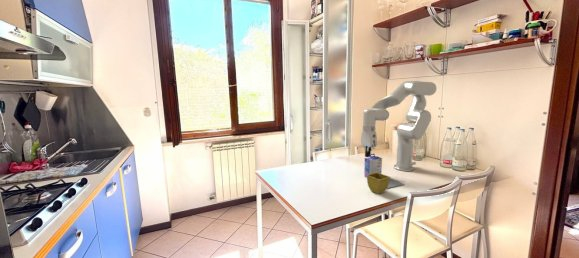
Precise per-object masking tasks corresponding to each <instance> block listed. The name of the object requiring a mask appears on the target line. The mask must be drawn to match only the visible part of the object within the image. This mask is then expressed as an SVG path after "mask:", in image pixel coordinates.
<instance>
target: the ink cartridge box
mask: <svg viewBox="0 0 579 258" xmlns="http://www.w3.org/2000/svg"><path fill="white" fill-rule="evenodd" d="M382 162H383V158H382V157H380V156H376V154H375V153H371V154H370V157H365V158H364V171H363V172H364V174H363V175H364V177H365V178H367V175H369V174H372V173H380V174H382V171H383V170H382V165H383V163H382Z"/></svg>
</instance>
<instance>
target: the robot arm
mask: <svg viewBox="0 0 579 258" xmlns="http://www.w3.org/2000/svg"><path fill="white" fill-rule="evenodd" d="M436 92H437V85H436V84H435V83H434V82H432V81H421V80H420V81H419V80H409V81H408V80H406V81H402V82H401V84H400V85H398V86H397V87H396V88H395V89H394V90H393V91H392V92H391V93H390V94H389V95H388V96H385V97H384V98H383V97H382V99H380V100H378V101H377V102H375V103H374V104H373V105H372V106H371V107H370V108H367V109H363V112H362V113H363V116H362V131H361V139H360V144H361V146H362V147H363V149H364V157H365V158H369V157H370V154H372V153H371V152H372V151H373V150H376V149H375V148H376V147H377V145H378V143H377V142H378V140H377V139H378V138H377V131H376V122H377V121H381V122H383V121H386V120H388V119H389V117H390V112H389V111H388V108H391V107H396V106H398V105H400V104H401V103H402V102H404V100H406V98H407V97H408V96H410V95H412V103H411V105H410V106H409V109H408V110H407V113H406V114H405V115H406V116H405V120H406V121H407V122H402V123H400V124H399V125H397V128H396V135H397V149H396V163H395V164H394V165H393V168H394V169H395V170H397V171H402V172H411V171H414V169H415V168H414V165H417V162H416V161H413V149H414V143H413V140H415V141H417V140H421V139H422V138H423V137H424V135H425V133H426V131H427V129H428V127H429V125H430V123H431V121H432V115H431V112H430V111H429V110H427V109H425V108H426V106H427V99H426V96H428V97H429V96H432V95H434V94H435V93H436Z"/></svg>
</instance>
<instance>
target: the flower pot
mask: <svg viewBox="0 0 579 258" xmlns="http://www.w3.org/2000/svg"><path fill="white" fill-rule="evenodd" d="M390 178H391V176H388V175H386V174H384V173H381V174H380V173H372V174H369V175H367V177H366V180H367V181H366V182H367V186H368V188H369V190H370V191H371V192H374V193H376V194H378V195H379V194H382V193H385V192H386V190H388V189H387V187H388V184H389V180H390Z"/></svg>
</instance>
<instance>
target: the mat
mask: <svg viewBox="0 0 579 258" xmlns="http://www.w3.org/2000/svg"><path fill="white" fill-rule="evenodd" d="M401 186H405V184H404V182H401V181H399V180H395V179H394V178H391V177H390V180H389V184H388V187H387V189H386V190H389V189H392V188H397V187H401Z"/></svg>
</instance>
